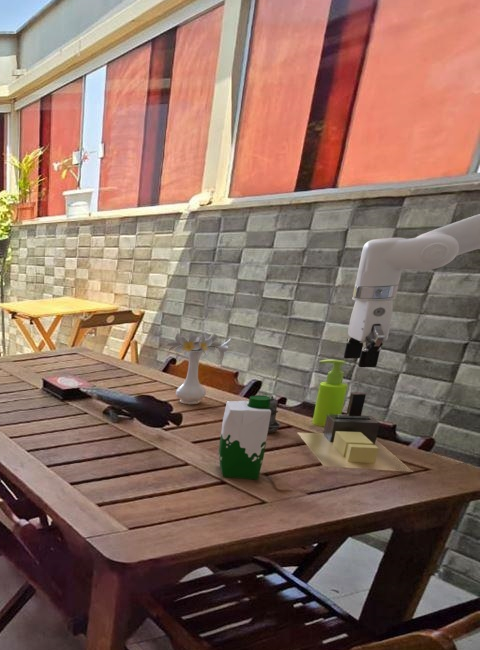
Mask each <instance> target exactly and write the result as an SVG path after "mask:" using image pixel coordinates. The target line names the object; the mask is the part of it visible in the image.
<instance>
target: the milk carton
mask: <svg viewBox="0 0 480 650" xmlns="http://www.w3.org/2000/svg"><path fill="white" fill-rule="evenodd" d="M270 398H271V396H267V395H261V394H257V395H256V394H255V395H251V396H249V399H248V400H227V401H226V404H225V409H224V413H223V417H222V424H221V431H220V438H219V446H218V458H219V467H220V471H221V475H222V477H223V478H232V479H233V478H234V479H245V480H255V481H257V480H259V476H260V473H261V468H262V465H263V461H264V458H265V451H266V446H267V445H266V444H267V439H268V434H269V433H268V427H269V421H270V416H271V409H270Z"/></svg>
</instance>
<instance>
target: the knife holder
mask: <svg viewBox="0 0 480 650" xmlns="http://www.w3.org/2000/svg"><path fill="white" fill-rule="evenodd" d="M380 425H381V422H380V421H378V420H377V419H376V418H374V417H373V416H372V415H369V417H368V420H356V419H338V415H329V414H327V418H326V423H325V427H324V429H323V433H322V434H323V435H324V436H325V437H326V438H327V439H328V440H329V441H330V442H334V437H335V432H336V431H344V432H361V433H362V434H363V435H365V436H366V437H367V438H368V439H369V440H370V441H371V442H372V443H373V444H375V442H376V440H377V437H378V434H379V433H378V432H379V429H380Z"/></svg>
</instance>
